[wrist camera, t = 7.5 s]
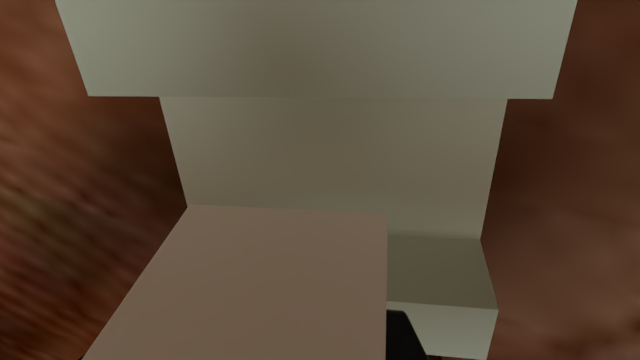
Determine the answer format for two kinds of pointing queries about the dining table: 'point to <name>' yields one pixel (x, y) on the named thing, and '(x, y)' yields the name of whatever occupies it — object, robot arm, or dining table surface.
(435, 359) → the bottle
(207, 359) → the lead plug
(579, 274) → the dining table surface
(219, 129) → the notch board
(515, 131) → the dining table surface
